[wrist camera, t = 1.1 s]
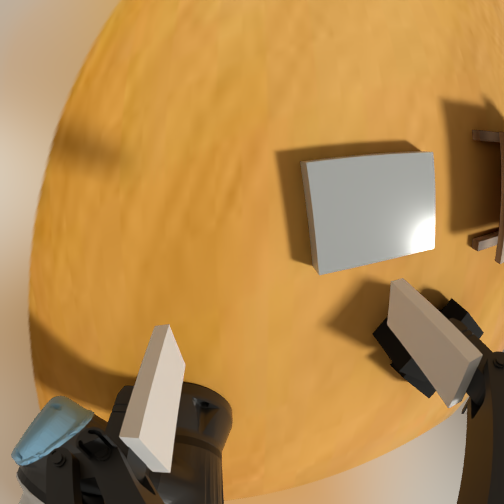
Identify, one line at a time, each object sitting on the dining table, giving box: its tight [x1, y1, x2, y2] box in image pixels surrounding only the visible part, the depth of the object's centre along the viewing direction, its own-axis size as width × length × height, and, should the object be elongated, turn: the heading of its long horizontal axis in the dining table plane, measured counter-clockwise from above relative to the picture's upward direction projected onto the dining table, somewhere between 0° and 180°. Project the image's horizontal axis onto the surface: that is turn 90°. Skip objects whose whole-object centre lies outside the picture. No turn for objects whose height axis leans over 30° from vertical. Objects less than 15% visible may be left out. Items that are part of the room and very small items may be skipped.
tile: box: [300, 151, 435, 275], centre depth 30 cm, size 16×12×3 cm
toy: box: [373, 298, 483, 398], centre depth 37 cm, size 16×9×30 cm
